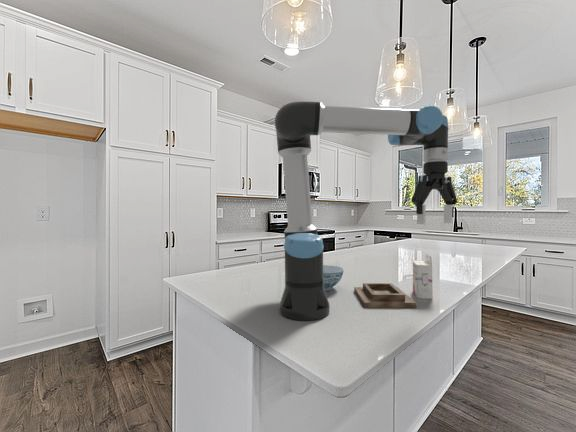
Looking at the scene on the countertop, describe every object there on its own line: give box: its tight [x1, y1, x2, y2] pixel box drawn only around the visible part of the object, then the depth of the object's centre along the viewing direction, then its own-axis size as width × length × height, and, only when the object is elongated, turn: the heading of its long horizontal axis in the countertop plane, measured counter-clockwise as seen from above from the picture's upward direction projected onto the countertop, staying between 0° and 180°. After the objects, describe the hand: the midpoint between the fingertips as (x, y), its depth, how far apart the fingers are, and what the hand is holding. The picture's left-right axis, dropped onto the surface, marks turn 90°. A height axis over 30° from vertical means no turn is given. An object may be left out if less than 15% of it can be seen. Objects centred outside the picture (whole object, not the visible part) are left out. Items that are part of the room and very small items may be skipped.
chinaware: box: [323, 264, 345, 292], centre depth 114 cm, size 15×15×8 cm
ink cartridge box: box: [412, 252, 434, 300], centre depth 103 cm, size 9×5×15 cm, turn 168°
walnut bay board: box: [353, 282, 417, 309], centre depth 100 cm, size 16×18×4 cm
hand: (434, 223), depth 100 cm, fingers open, 13 cm apart
